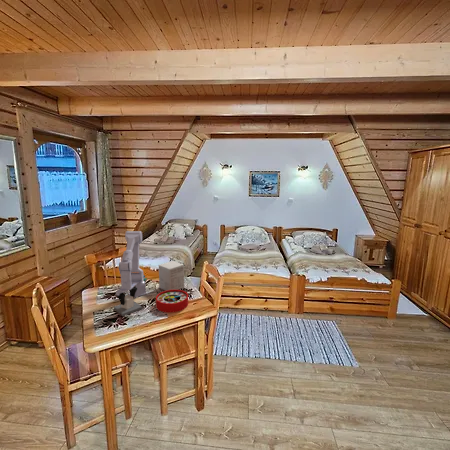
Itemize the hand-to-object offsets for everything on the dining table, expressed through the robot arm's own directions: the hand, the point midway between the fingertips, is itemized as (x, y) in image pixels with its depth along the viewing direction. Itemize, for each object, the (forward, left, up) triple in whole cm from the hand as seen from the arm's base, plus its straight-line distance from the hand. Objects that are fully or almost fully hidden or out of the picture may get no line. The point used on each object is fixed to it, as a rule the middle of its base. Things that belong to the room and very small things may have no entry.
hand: (127, 301), depth 157 cm
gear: (-23, -31, -5) cm, 39 cm away
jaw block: (0, 0, -3) cm, 3 cm away
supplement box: (-37, -8, -5) cm, 38 cm away
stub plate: (0, 0, -5) cm, 5 cm away
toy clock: (-23, +14, -5) cm, 27 cm away
